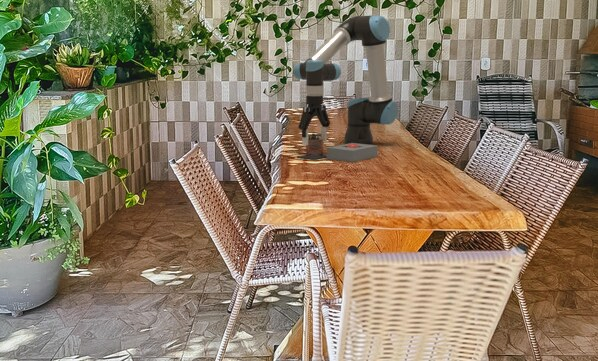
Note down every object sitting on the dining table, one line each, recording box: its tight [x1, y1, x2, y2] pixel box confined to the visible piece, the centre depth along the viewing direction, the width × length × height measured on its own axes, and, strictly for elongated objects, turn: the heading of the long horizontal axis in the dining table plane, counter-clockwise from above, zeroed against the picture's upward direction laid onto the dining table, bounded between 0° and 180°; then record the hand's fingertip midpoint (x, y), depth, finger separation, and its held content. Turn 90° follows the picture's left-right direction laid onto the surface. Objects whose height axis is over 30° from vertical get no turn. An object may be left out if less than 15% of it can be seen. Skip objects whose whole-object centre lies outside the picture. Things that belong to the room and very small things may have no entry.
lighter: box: [305, 133, 324, 156], centre depth 314 cm, size 8×3×10 cm, turn 103°
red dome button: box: [346, 143, 358, 148], centre depth 313 cm, size 5×5×5 cm
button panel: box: [326, 143, 379, 163], centre depth 314 cm, size 20×14×5 cm
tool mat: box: [296, 154, 327, 161], centre depth 315 cm, size 12×10×1 cm
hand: (314, 142), depth 314 cm, fingers open, 13 cm apart
